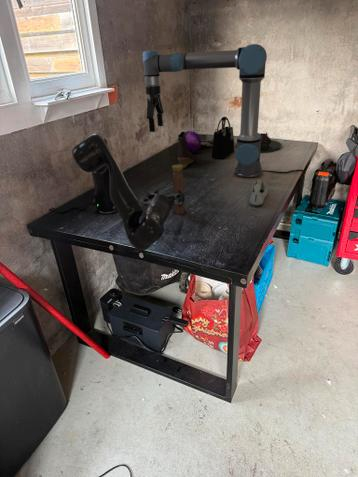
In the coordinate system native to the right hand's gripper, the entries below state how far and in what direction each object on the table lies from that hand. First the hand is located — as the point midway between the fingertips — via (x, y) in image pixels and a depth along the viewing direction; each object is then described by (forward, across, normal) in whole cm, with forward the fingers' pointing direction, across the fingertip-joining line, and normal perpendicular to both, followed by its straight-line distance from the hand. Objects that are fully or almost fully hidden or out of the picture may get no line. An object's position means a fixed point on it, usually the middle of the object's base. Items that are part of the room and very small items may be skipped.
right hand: (156, 128), depth 177 cm
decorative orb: (+28, -53, +5) cm, 60 cm away
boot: (+28, -29, +8) cm, 41 cm away
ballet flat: (+28, +20, +57) cm, 67 cm away
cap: (+7, +42, +23) cm, 48 cm away
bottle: (+28, +42, +23) cm, 56 cm away
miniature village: (+28, -74, +50) cm, 93 cm away
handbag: (+28, -49, +29) cm, 64 cm away
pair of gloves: (+28, -78, +14) cm, 84 cm away
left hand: (+10, +63, +25) cm, 68 cm away
